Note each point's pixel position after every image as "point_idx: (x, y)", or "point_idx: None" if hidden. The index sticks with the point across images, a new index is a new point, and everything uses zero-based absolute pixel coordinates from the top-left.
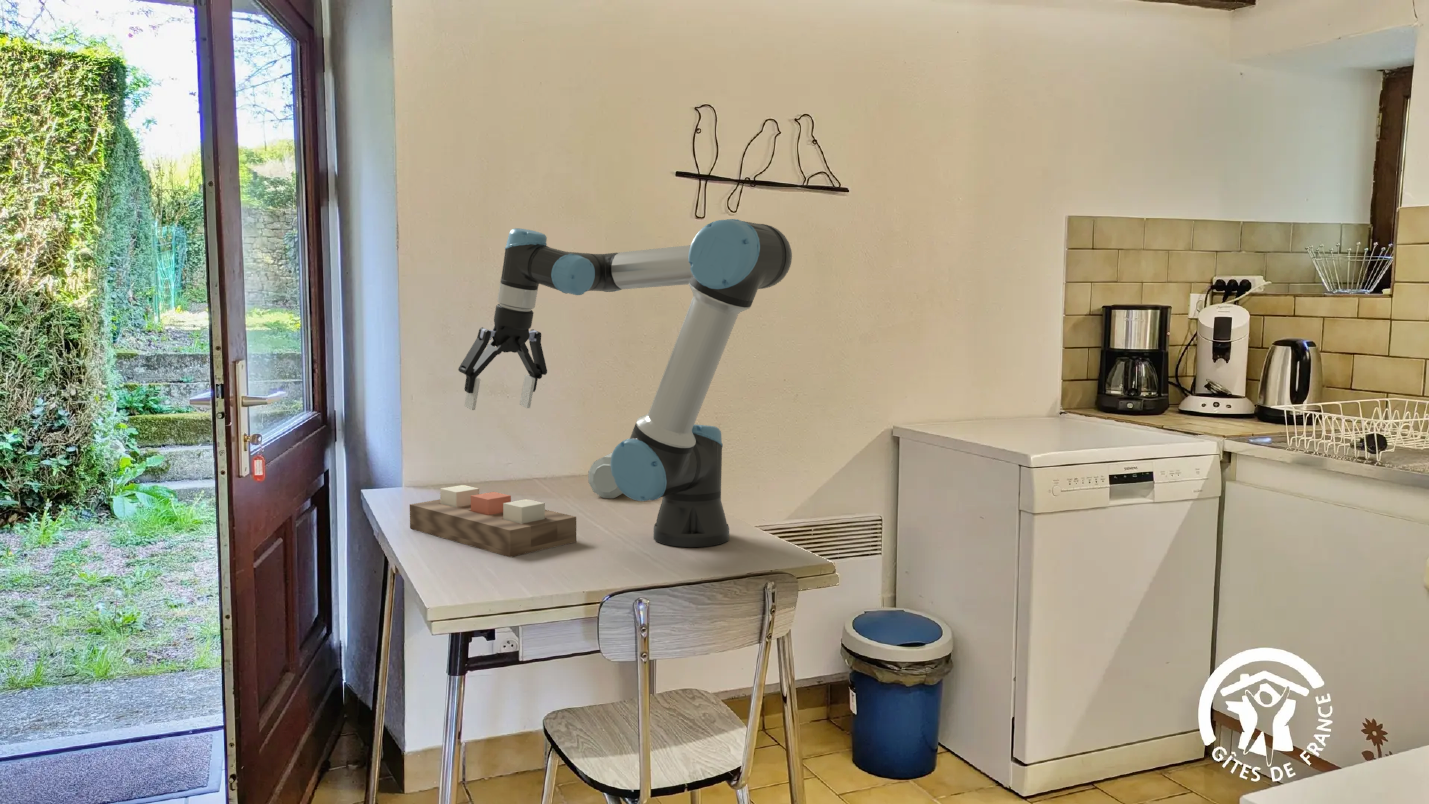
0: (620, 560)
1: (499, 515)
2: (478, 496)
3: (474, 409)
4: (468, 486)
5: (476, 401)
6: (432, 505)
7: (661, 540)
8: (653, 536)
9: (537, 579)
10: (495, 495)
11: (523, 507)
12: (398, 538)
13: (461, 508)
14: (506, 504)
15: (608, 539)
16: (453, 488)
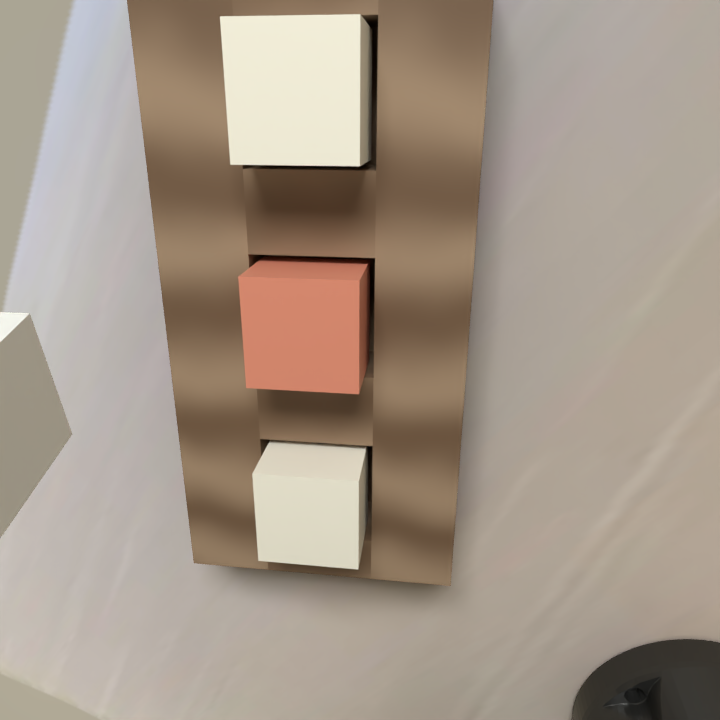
0: (391, 700)
1: (285, 402)
2: (252, 314)
3: (60, 438)
4: (354, 76)
5: (20, 507)
6: (188, 52)
7: (578, 703)
8: (616, 659)
9: (166, 664)
10: (315, 348)
11: (266, 560)
12: (73, 92)
13: (249, 203)
14: (254, 488)
15: (531, 576)
16: (270, 65)
